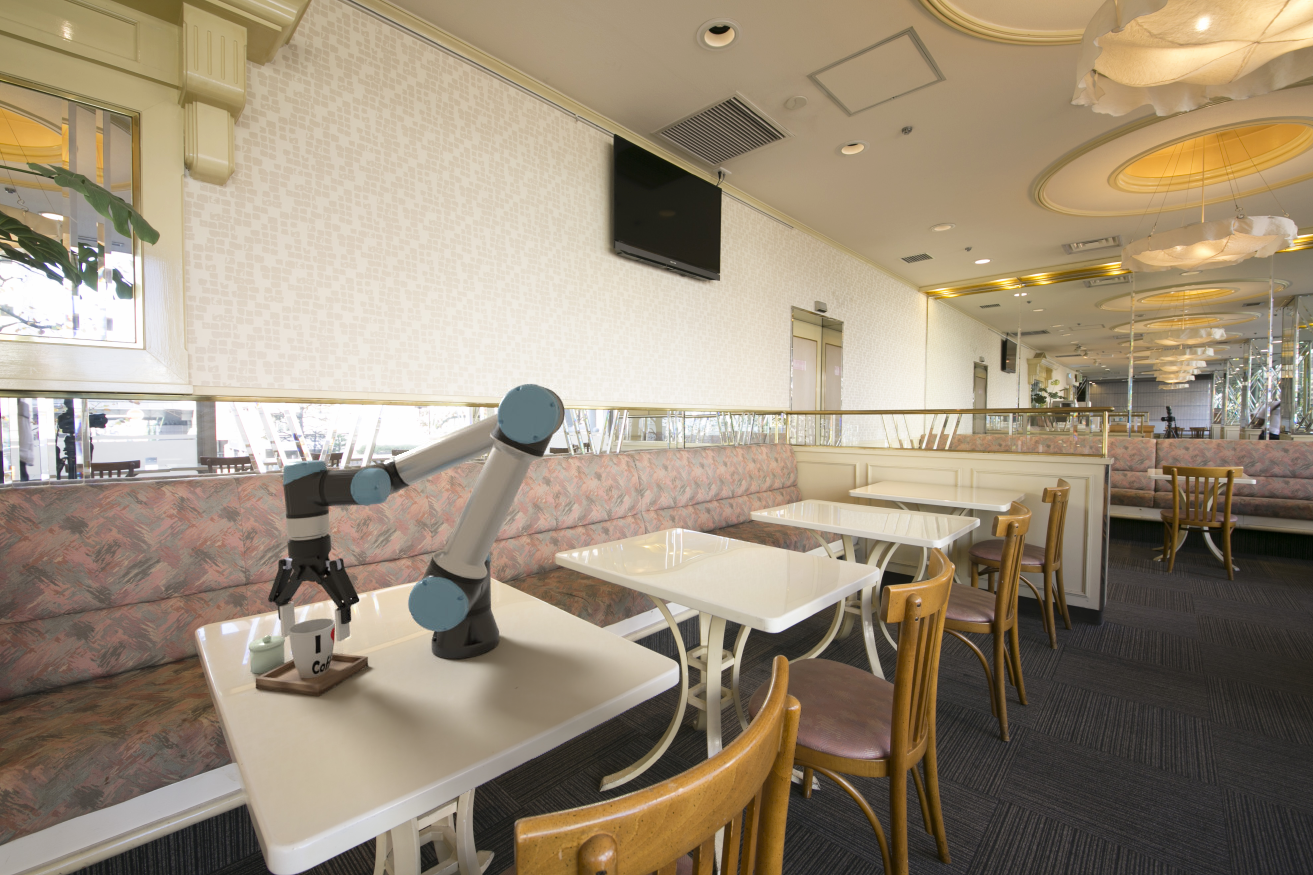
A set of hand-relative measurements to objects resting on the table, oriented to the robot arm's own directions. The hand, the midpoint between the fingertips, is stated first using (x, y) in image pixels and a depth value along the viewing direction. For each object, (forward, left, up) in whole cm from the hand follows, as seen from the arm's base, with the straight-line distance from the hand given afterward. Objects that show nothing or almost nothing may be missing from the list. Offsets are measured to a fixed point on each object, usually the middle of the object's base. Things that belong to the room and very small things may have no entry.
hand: (315, 636), depth 113 cm
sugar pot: (+14, -1, -9) cm, 16 cm away
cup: (+1, 0, -8) cm, 8 cm away
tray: (+1, 0, -8) cm, 8 cm away
